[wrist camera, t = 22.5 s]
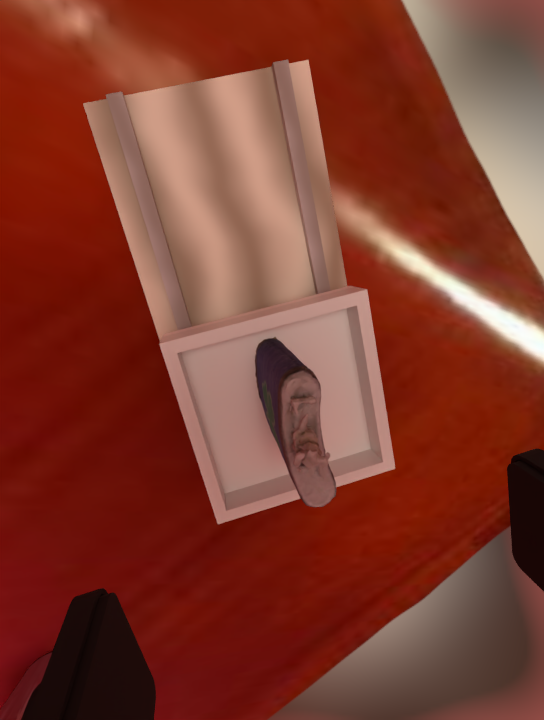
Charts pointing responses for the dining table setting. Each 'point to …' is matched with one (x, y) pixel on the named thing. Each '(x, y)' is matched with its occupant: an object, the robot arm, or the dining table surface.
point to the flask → (295, 419)
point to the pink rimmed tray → (244, 407)
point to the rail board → (222, 193)
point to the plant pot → (24, 690)
